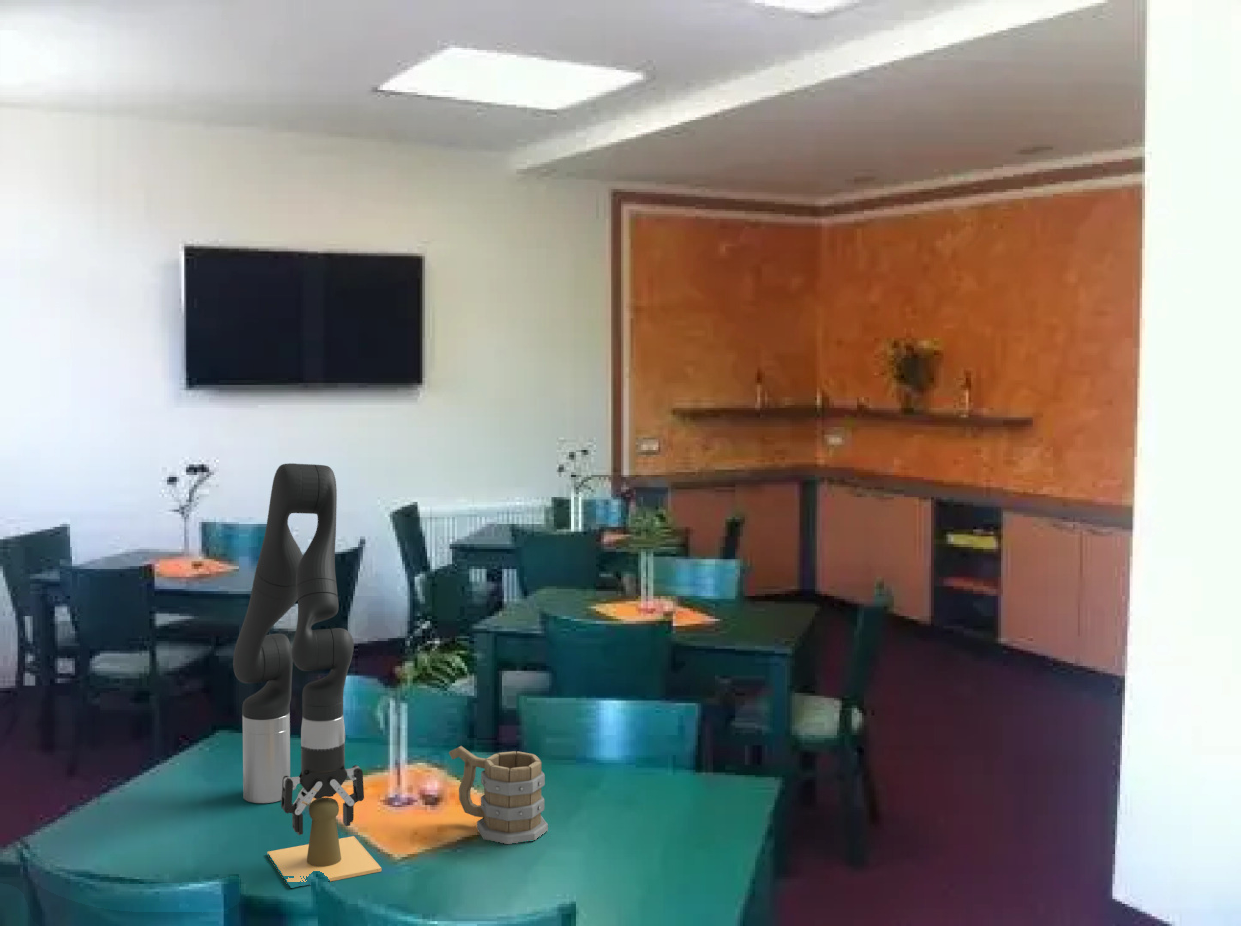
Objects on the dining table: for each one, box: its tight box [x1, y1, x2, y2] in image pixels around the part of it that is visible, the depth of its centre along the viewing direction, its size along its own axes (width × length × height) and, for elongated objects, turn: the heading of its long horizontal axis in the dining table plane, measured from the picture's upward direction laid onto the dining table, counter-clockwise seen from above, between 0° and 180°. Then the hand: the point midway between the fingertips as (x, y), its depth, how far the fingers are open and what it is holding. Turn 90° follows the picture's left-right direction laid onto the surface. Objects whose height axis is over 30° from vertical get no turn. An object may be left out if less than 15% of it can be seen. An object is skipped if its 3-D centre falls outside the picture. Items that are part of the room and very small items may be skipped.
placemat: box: [267, 835, 382, 882], centre depth 223 cm, size 16×16×1 cm
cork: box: [307, 797, 341, 867], centre depth 222 cm, size 6×6×11 cm
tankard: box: [448, 745, 549, 845], centre depth 240 cm, size 20×13×15 cm, turn 65°
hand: (323, 829), depth 222 cm, fingers open, 8 cm apart
